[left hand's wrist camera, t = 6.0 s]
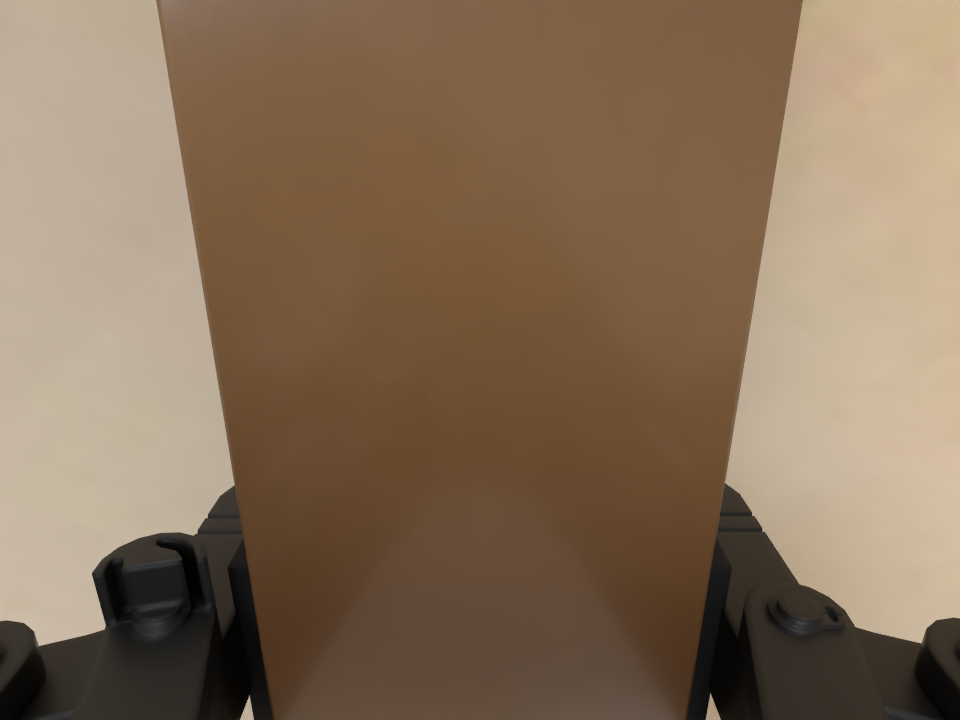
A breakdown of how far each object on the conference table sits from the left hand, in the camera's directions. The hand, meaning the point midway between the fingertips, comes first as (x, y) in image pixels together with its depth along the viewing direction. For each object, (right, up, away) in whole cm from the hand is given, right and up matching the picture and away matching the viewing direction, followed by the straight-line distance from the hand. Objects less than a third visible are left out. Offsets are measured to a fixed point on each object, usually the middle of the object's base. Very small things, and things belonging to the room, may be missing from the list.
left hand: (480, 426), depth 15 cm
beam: (0, +27, -10) cm, 29 cm away
